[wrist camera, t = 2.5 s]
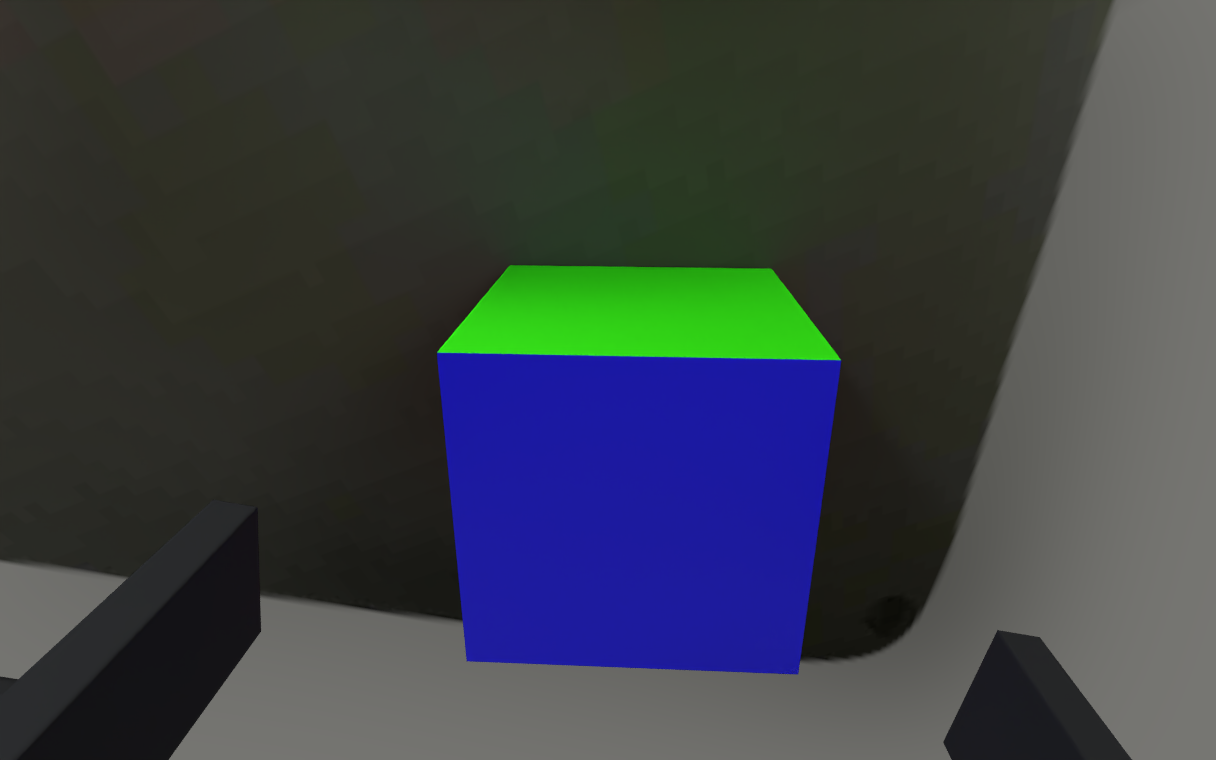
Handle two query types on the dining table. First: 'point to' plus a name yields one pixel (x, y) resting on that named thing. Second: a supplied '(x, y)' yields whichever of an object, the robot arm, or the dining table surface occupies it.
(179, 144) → the dining table surface
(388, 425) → the dining table surface
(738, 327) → the cube
